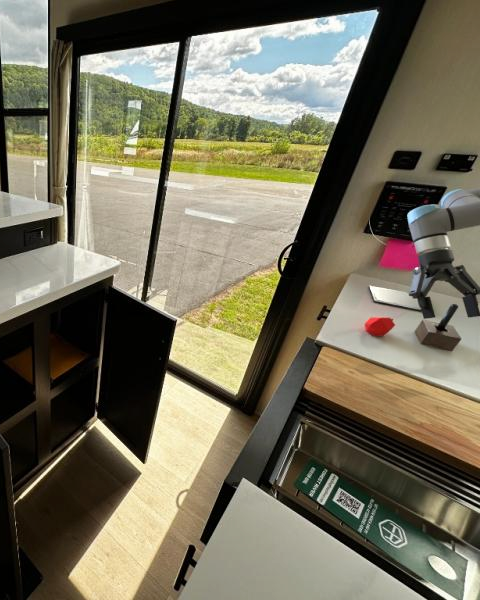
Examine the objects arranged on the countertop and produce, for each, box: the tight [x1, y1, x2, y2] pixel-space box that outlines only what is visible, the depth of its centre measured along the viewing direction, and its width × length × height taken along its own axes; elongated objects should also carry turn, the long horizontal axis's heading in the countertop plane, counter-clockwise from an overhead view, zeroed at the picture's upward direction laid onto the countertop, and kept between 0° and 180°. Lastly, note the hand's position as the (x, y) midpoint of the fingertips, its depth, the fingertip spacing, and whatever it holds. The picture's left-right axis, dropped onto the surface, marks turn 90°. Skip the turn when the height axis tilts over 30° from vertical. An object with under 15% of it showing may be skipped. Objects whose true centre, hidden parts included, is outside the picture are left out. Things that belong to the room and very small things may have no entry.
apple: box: [364, 316, 396, 337], centre depth 105 cm, size 7×7×8 cm
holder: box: [414, 319, 462, 352], centre depth 101 cm, size 7×7×5 cm
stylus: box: [436, 303, 459, 331], centre depth 100 cm, size 2×2×14 cm
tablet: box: [368, 285, 422, 313], centre depth 123 cm, size 17×13×1 cm
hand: (451, 317), depth 97 cm, fingers open, 13 cm apart
